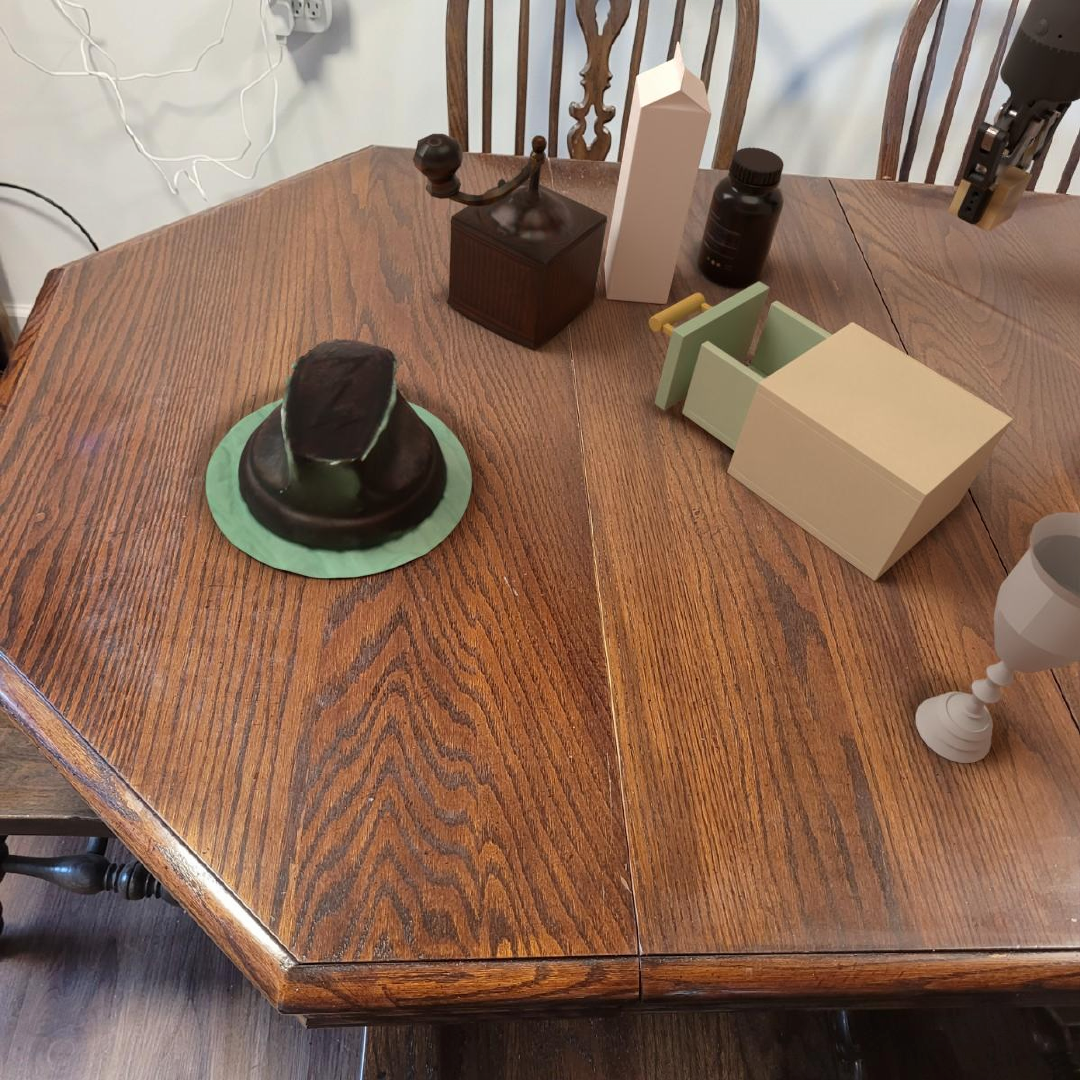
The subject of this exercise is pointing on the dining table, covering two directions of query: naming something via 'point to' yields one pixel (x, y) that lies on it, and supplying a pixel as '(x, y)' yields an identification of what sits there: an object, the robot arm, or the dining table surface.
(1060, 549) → the chalice
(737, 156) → the supplement bottle
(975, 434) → the cabinet
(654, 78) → the milk
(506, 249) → the brown coffee grinder
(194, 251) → the dining table surface
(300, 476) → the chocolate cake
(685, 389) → the drawer
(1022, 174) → the block
